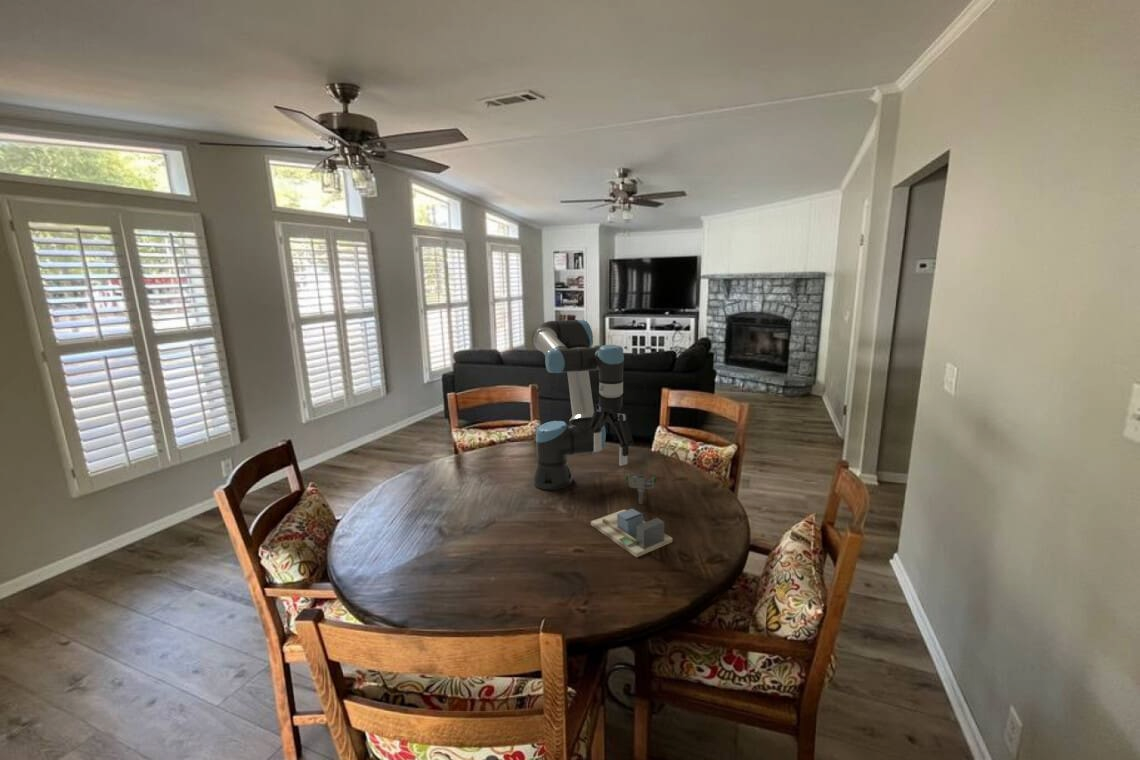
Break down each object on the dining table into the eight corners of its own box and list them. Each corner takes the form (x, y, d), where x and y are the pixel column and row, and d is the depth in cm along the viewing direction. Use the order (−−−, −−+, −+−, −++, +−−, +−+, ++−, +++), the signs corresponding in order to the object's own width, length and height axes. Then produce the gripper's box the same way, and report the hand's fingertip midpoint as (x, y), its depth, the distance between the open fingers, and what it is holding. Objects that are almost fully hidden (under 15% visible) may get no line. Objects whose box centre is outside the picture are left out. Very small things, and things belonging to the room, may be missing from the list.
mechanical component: (655, 506, 161) (656, 479, 159) (625, 503, 163) (625, 477, 161) (655, 502, 164) (656, 475, 162) (626, 500, 166) (626, 473, 164)
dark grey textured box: (636, 544, 136) (636, 525, 135) (656, 536, 140) (657, 517, 139) (643, 549, 134) (643, 530, 132) (663, 540, 138) (664, 521, 137)
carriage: (615, 529, 144) (615, 513, 143) (633, 522, 148) (633, 506, 147) (626, 536, 140) (626, 520, 139) (644, 529, 144) (644, 513, 143)
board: (590, 524, 150) (590, 518, 149) (624, 512, 157) (624, 506, 157) (636, 557, 132) (636, 550, 131) (672, 541, 139) (672, 535, 139)
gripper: (578, 387, 156) (579, 447, 161) (626, 406, 135) (625, 473, 140) (597, 384, 160) (596, 443, 165) (646, 401, 139) (644, 468, 144)
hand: (609, 457), depth 153 cm, fingers open, 13 cm apart
